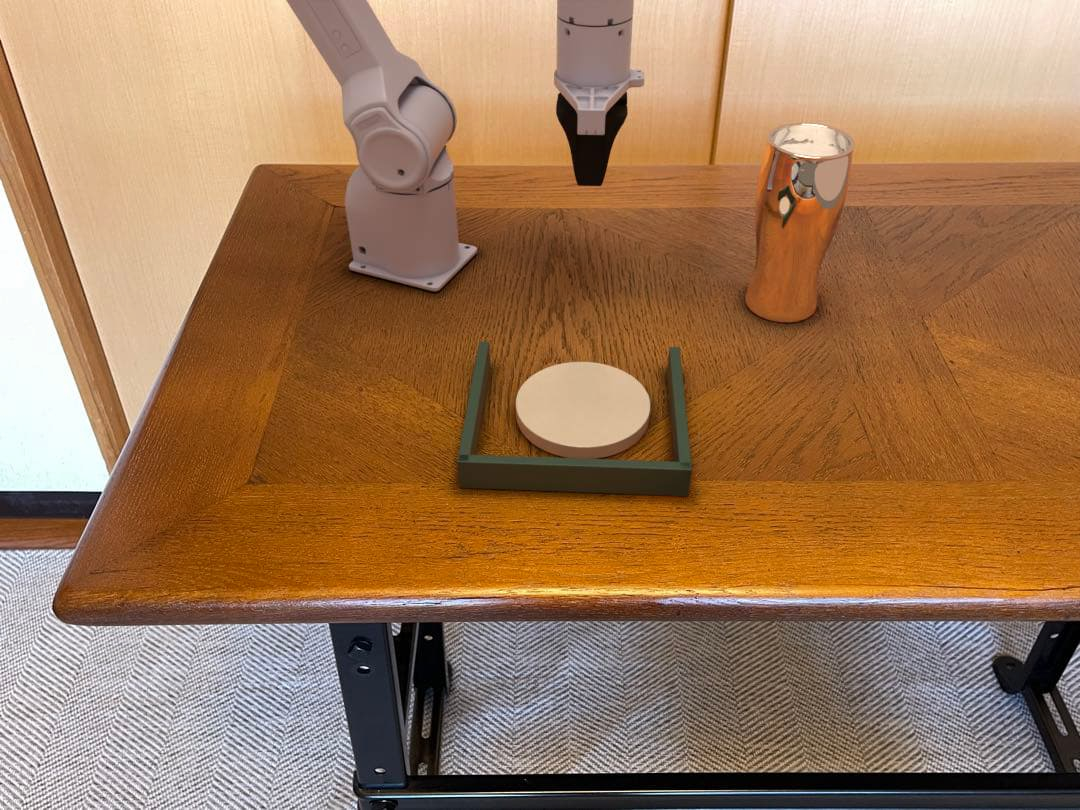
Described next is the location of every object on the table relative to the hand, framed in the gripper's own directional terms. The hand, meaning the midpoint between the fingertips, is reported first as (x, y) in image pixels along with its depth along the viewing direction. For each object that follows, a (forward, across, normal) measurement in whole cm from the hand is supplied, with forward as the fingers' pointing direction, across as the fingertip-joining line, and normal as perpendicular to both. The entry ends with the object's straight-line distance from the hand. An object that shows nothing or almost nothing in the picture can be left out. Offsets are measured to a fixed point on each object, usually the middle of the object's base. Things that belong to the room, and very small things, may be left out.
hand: (589, 182), depth 78 cm
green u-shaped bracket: (+9, -20, 0) cm, 22 cm away
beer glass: (+10, -3, -17) cm, 20 cm away
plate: (+9, -19, 0) cm, 21 cm away
